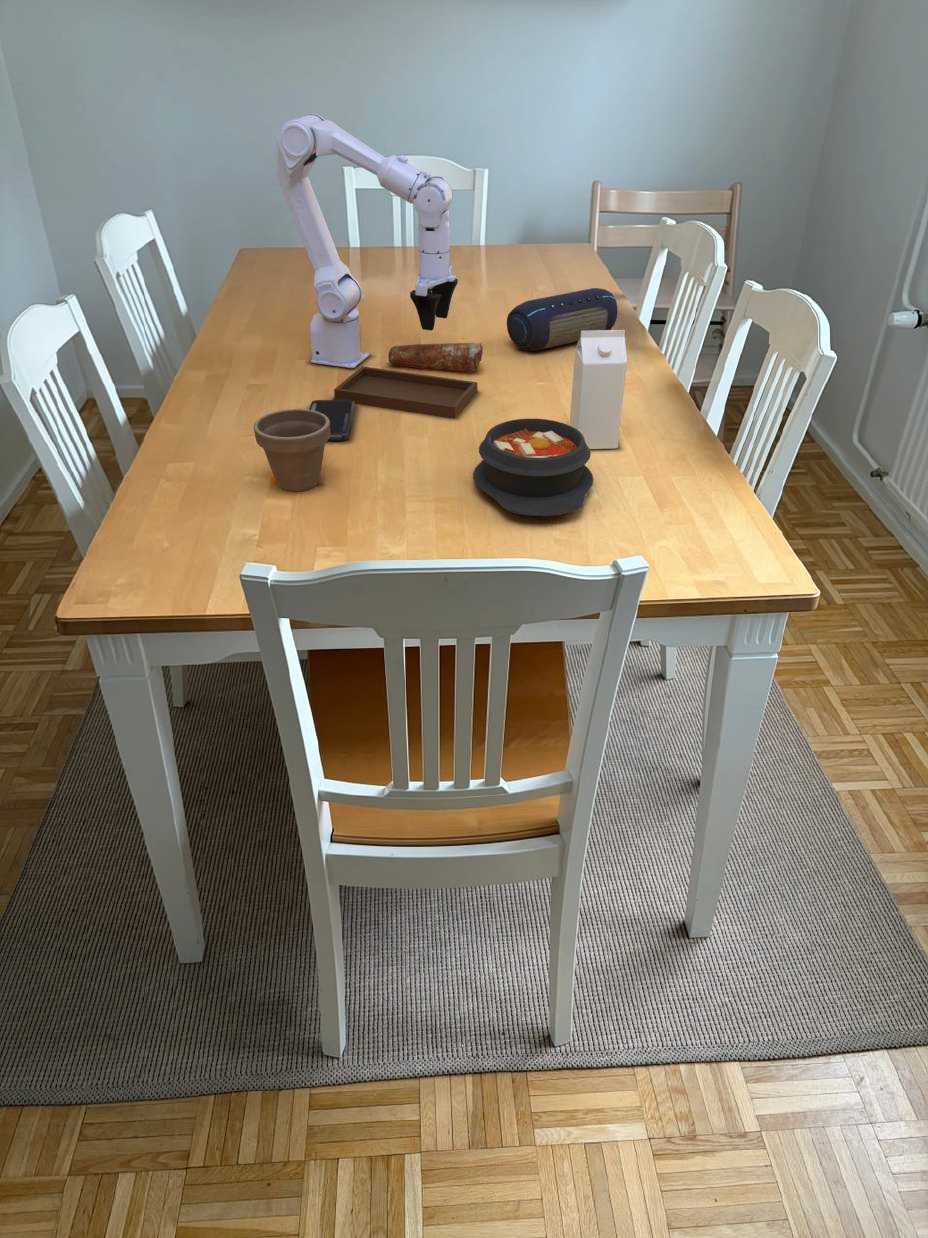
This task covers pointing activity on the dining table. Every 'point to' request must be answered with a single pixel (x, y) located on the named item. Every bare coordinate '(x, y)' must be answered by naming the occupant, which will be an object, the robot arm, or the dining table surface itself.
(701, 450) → the dining table surface
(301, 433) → the flower pot
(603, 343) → the milk carton
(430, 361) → the brown cylinder
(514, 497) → the casserole
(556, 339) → the portable speaker
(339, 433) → the phone
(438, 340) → the dining table surface
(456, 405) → the tray
